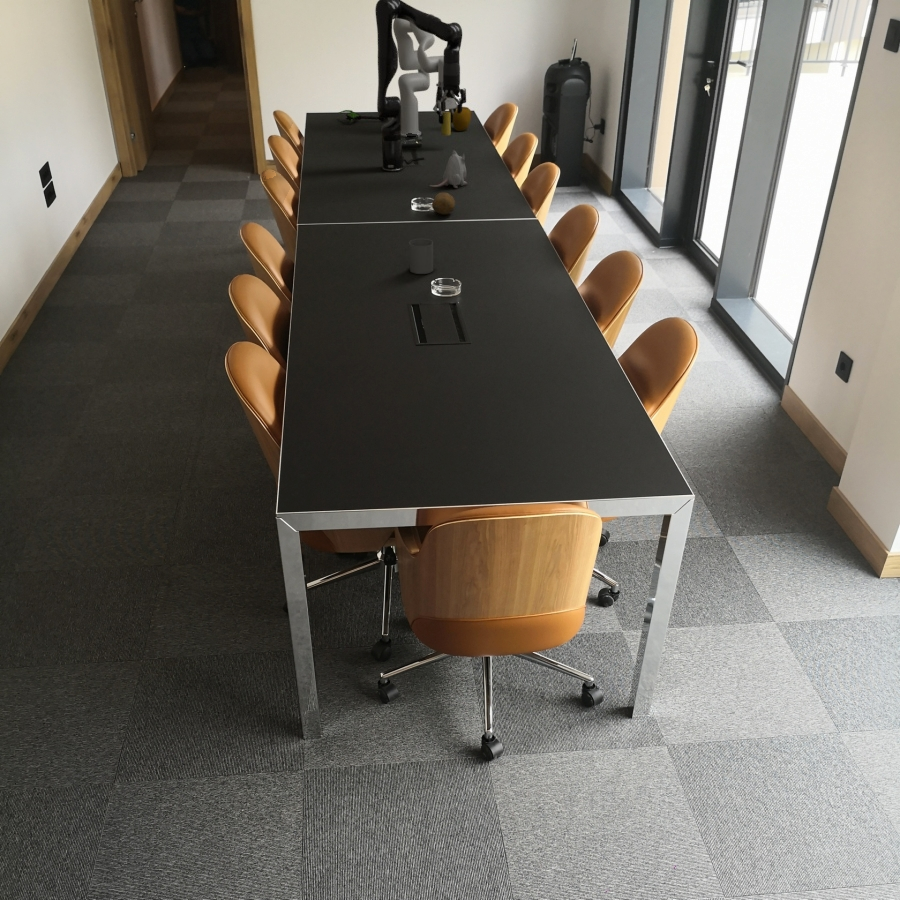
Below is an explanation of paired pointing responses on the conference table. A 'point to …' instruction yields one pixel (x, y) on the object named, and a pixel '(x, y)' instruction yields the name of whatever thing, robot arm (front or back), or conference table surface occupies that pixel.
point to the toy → (454, 171)
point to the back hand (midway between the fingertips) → (445, 122)
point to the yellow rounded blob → (462, 119)
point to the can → (446, 123)
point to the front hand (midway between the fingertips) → (451, 112)
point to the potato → (443, 203)
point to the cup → (421, 256)
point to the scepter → (358, 117)
